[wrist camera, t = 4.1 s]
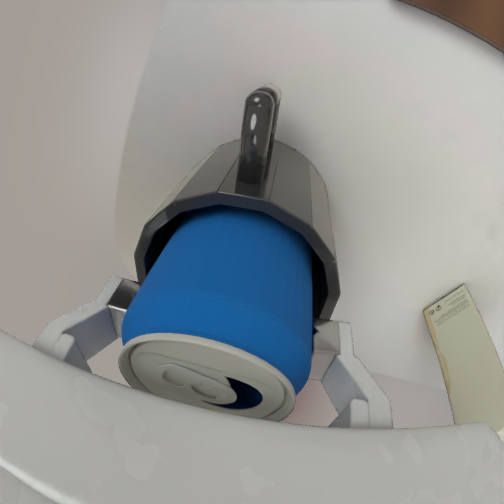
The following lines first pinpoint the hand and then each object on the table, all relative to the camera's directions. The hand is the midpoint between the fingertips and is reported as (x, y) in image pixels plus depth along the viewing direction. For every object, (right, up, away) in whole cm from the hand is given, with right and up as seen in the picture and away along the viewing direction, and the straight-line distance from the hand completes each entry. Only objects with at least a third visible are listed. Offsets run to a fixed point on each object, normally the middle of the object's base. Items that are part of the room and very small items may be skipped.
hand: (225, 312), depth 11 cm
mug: (+1, +6, +6) cm, 9 cm away
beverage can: (+1, +5, +7) cm, 9 cm away
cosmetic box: (+18, -3, +10) cm, 21 cm away
